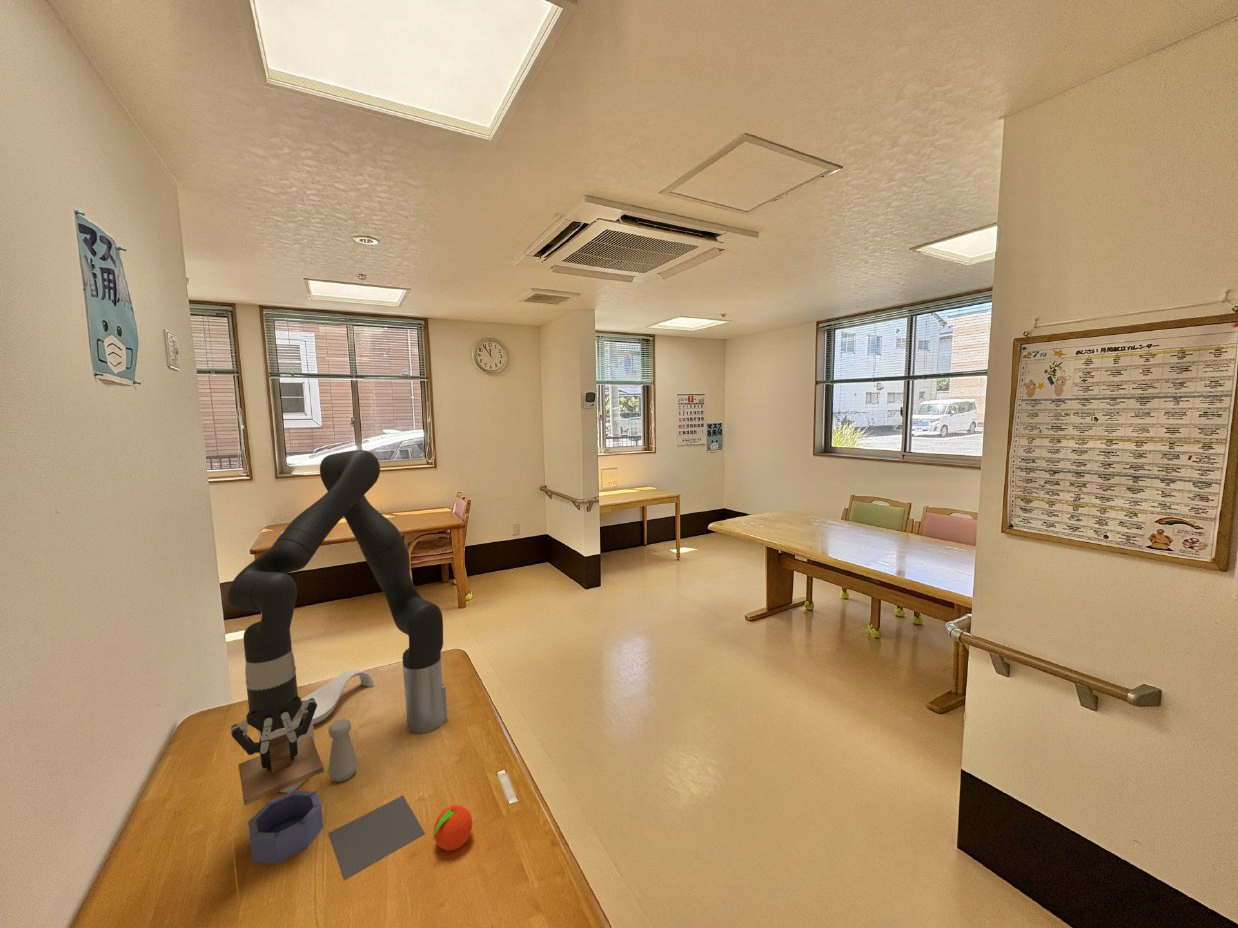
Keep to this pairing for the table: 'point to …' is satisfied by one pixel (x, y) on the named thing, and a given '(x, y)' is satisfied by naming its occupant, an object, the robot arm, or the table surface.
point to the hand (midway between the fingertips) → (280, 762)
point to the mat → (374, 836)
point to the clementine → (452, 827)
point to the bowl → (285, 826)
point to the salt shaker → (341, 752)
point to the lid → (279, 769)
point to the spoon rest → (334, 693)
